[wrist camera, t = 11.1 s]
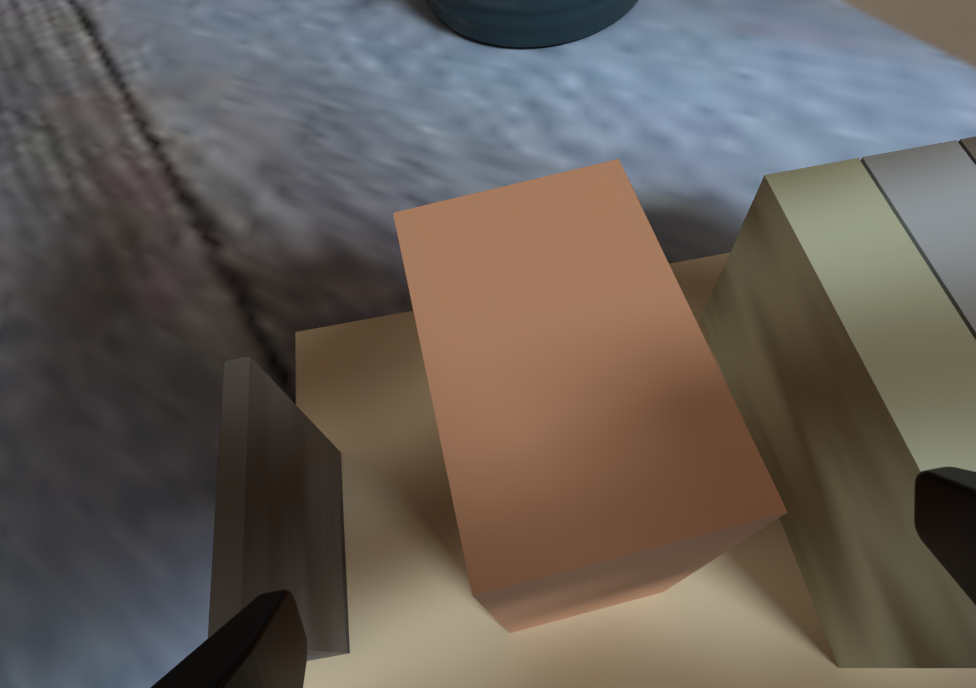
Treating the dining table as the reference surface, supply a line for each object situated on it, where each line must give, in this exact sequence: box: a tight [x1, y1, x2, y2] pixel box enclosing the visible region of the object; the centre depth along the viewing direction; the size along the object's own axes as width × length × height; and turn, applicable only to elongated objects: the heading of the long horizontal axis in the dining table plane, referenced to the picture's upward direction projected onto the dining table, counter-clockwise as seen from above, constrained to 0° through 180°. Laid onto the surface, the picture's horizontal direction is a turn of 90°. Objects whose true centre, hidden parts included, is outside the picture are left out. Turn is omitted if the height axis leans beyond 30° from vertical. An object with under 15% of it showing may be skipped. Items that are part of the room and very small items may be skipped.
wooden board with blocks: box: [208, 137, 976, 688], centre depth 16 cm, size 16×22×8 cm
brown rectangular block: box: [393, 159, 787, 633], centre depth 14 cm, size 7×4×10 cm, turn 13°
